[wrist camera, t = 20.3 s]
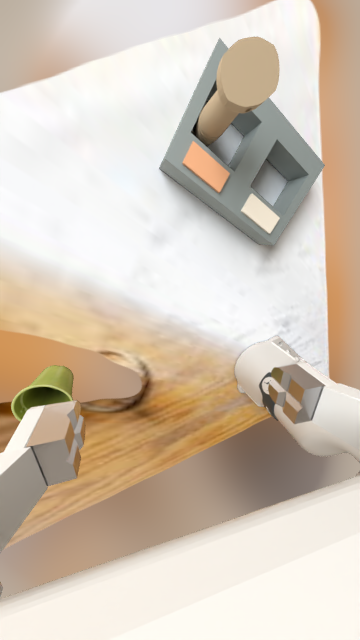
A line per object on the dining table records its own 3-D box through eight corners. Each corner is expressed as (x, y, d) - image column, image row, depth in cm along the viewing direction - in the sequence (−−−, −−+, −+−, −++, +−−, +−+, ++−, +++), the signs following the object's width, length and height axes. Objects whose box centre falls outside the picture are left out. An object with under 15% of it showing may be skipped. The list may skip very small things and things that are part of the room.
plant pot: (60, 349, 41) (45, 375, 33) (91, 378, 45) (84, 407, 38) (21, 374, 41) (-3, 406, 33) (56, 401, 45) (42, 435, 38)
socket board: (302, 173, 40) (328, 164, 35) (258, 244, 43) (276, 245, 38) (205, 66, 30) (221, 33, 25) (159, 168, 34) (165, 156, 29)
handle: (220, 151, 35) (280, 99, 22) (185, 159, 34) (224, 111, 21) (215, 114, 33) (278, 32, 19) (178, 122, 32) (217, 42, 19)
